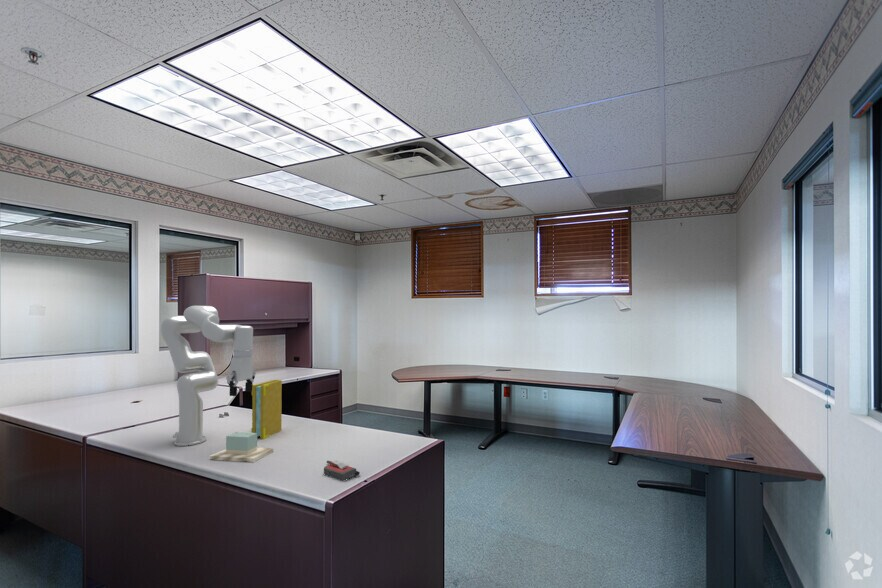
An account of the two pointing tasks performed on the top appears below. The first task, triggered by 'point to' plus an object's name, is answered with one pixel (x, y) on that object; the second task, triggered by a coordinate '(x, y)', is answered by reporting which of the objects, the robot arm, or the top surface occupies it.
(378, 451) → the top surface
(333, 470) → the walkie-talkie
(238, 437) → the block
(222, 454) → the board
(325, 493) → the top surface
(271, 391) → the book
